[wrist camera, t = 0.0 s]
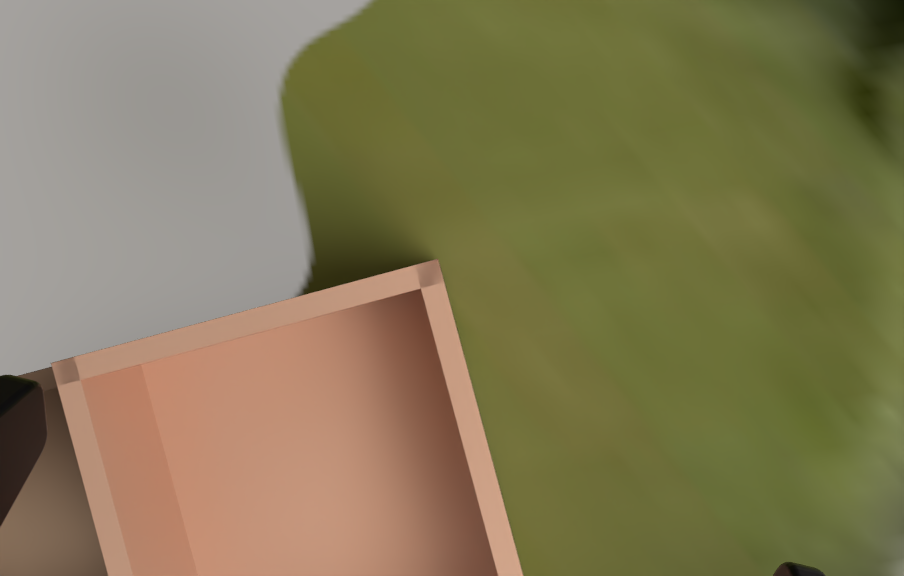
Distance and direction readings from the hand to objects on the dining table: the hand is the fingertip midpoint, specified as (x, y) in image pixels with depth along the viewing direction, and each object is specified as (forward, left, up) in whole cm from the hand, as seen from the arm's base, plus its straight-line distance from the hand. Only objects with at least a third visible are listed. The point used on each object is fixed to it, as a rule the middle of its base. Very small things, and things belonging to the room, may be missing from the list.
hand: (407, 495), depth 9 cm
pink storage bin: (-3, +4, -15) cm, 16 cm away
